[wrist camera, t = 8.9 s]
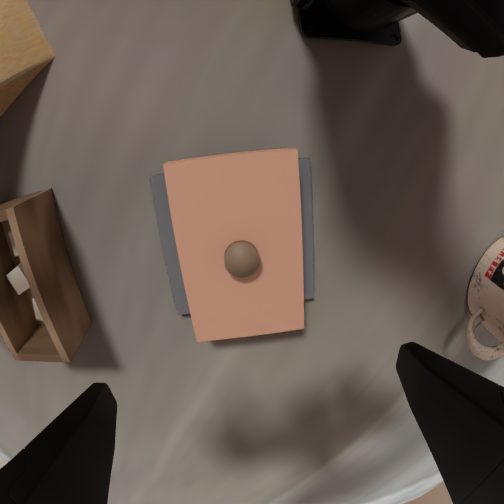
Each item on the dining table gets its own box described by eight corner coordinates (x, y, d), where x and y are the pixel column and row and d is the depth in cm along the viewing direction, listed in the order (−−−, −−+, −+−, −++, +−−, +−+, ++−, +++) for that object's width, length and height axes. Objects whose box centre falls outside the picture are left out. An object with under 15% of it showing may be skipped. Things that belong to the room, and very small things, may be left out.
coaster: (307, 157, 18) (309, 158, 17) (311, 293, 21) (313, 297, 21) (151, 175, 17) (149, 177, 17) (178, 309, 21) (177, 314, 20)
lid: (169, 160, 16) (160, 166, 14) (289, 146, 17) (300, 150, 14) (198, 323, 20) (196, 349, 18) (297, 311, 21) (306, 335, 18)
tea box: (-2, 203, 16) (-41, 223, 12) (51, 188, 17) (13, 206, 13) (39, 325, 20) (14, 359, 16) (91, 322, 21) (70, 362, 16)
